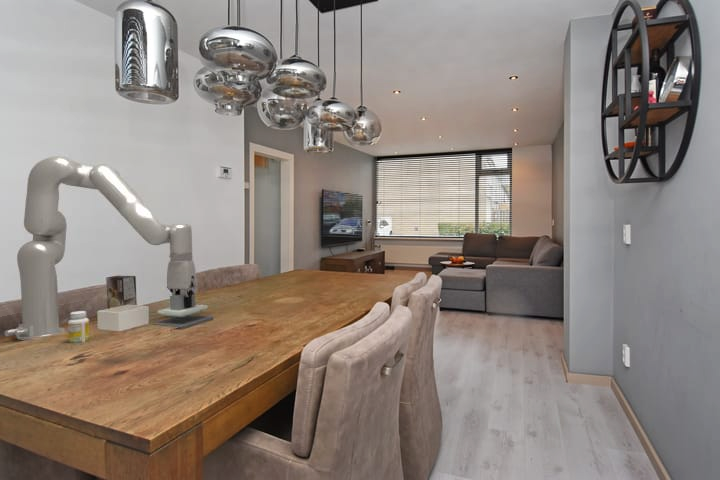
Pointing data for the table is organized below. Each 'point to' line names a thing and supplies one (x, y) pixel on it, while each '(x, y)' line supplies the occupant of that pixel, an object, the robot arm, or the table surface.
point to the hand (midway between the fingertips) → (183, 306)
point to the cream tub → (123, 317)
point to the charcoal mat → (184, 321)
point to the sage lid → (181, 306)
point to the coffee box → (121, 291)
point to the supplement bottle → (78, 327)
